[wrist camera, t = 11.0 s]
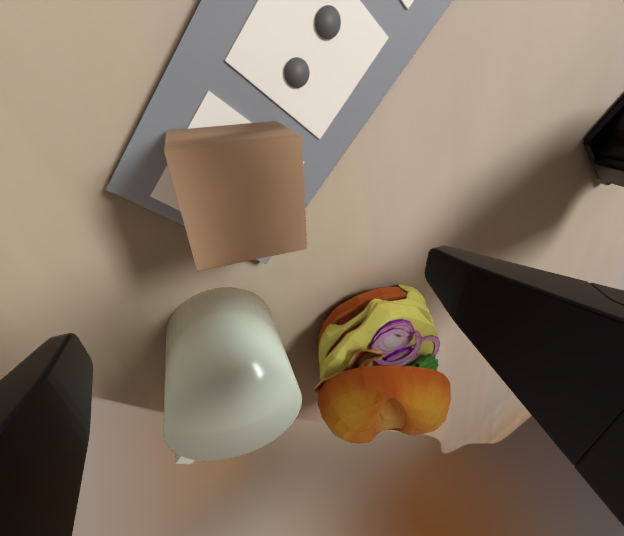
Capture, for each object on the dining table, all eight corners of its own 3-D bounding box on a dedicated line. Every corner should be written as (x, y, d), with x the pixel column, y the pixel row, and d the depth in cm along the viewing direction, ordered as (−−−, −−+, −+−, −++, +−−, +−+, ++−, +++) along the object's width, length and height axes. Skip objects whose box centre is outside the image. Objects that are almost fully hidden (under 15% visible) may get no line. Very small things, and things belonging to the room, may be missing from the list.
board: (395, -385, 10) (410, -415, 9) (509, -91, 15) (524, -98, 14) (107, 185, 15) (104, 191, 15) (263, 259, 20) (266, 265, 20)
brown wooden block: (276, 120, 15) (301, 136, 12) (283, 216, 18) (306, 248, 15) (166, 130, 14) (164, 151, 11) (193, 231, 17) (197, 271, 14)
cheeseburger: (440, 306, 29) (507, 417, 22) (348, 360, 33) (380, 469, 26) (382, 251, 23) (449, 380, 16) (278, 326, 27) (295, 456, 20)
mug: (200, 271, 19) (210, 356, 14) (290, 307, 23) (326, 385, 18) (132, 376, 22) (117, 485, 16) (224, 392, 25) (237, 485, 20)
